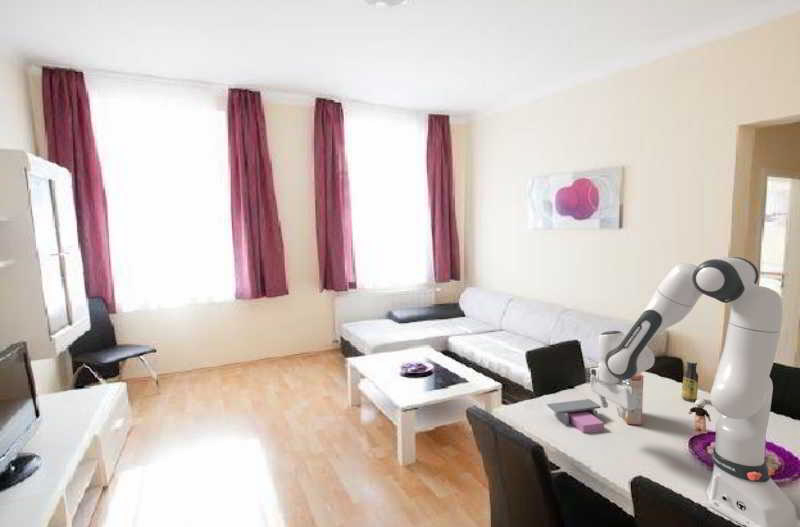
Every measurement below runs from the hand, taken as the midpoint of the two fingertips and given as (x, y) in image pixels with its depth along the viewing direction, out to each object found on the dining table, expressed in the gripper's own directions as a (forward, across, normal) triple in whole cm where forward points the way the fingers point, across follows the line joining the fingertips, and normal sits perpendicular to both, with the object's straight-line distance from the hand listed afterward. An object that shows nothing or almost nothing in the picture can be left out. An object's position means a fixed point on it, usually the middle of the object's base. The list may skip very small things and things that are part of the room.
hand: (613, 411), depth 152 cm
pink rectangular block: (+13, +19, 0) cm, 23 cm away
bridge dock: (+12, +22, +1) cm, 25 cm away
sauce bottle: (+13, +26, -59) cm, 66 cm away
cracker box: (+13, +18, -21) cm, 31 cm away
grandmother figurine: (+14, +2, -39) cm, 42 cm away
